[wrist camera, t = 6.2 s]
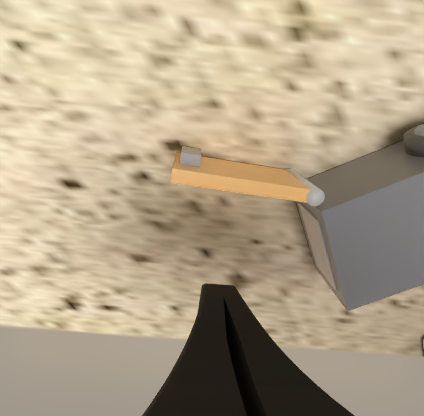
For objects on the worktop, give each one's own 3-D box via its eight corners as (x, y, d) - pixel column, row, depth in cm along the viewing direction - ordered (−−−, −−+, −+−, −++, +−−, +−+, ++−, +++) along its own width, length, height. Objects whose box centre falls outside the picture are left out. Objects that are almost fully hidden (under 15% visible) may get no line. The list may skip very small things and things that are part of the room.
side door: (175, 165, 16) (169, 185, 13) (178, 141, 16) (173, 155, 12) (292, 183, 17) (321, 207, 14) (298, 161, 17) (330, 180, 13)
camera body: (462, 213, 19) (546, 249, 15) (314, 267, 20) (350, 317, 16) (458, 101, 16) (562, 102, 12) (285, 171, 17) (319, 197, 13)
